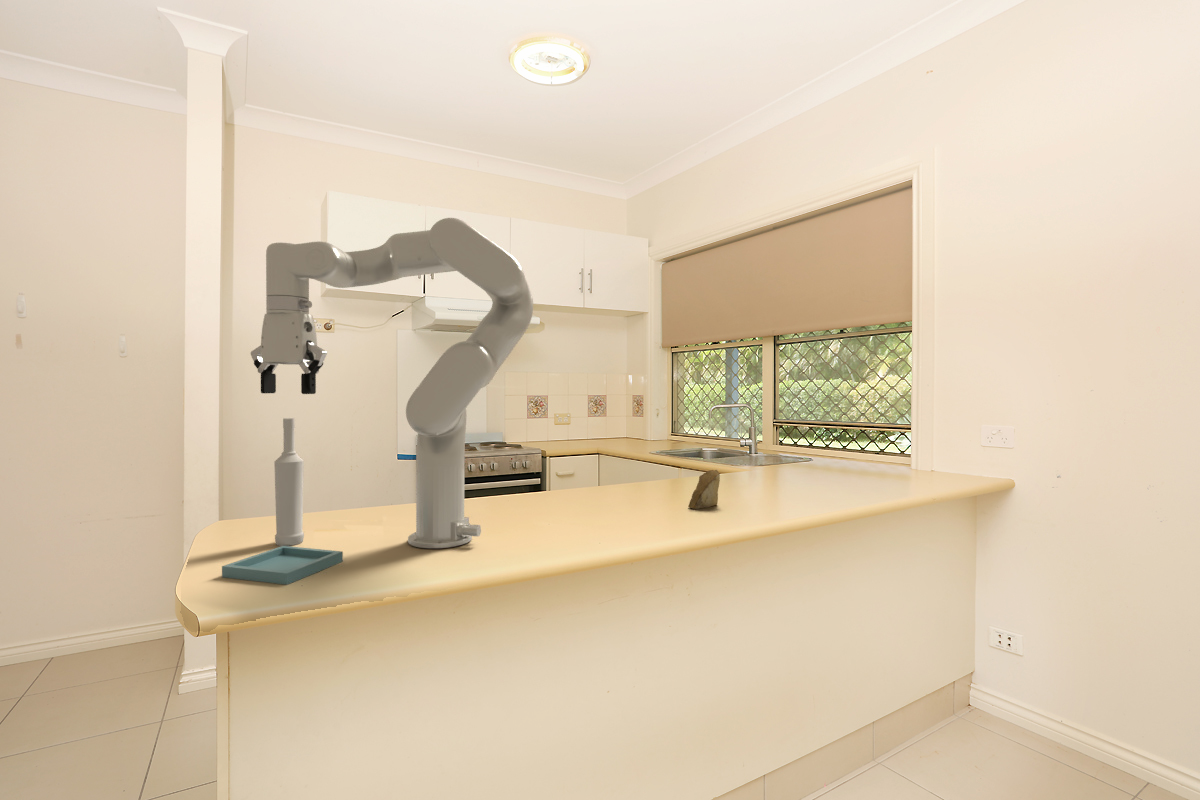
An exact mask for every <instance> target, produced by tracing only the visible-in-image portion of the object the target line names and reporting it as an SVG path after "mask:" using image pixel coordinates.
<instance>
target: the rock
mask: <svg viewBox="0 0 1200 800" xmlns="http://www.w3.org/2000/svg"><path fill="white" fill-rule="evenodd" d="M720 474H721V473H720V472H719V471H718V469H710V470H708V471H706V472H704V473H703V474H701V475H700V476H699V478H698V482H697V485H696V487H695V489H694V491H693V493H692V495H691V498H690V500H689V503H688V508H690V509H692V510H699V509H703V508H704V509H705V508H709V507H713V506H717V505H718V504H719V503H718V501H719V487H720V480H721V479H720V477H721V476H720Z"/></svg>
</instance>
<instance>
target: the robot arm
mask: <svg viewBox="0 0 1200 800" xmlns="http://www.w3.org/2000/svg"><path fill="white" fill-rule="evenodd" d="M265 253H266V254H265V265H266V267H265V274H266V277H265V278H266V279H265V281H266V282H265V288H266V291H265V292H266V294H265V296H266V298H265V299H266V300H265V301H266V302H265V304H266V305H265V306H266V309H265V310H266V311H265V313H264V316H263V321H262V325H261V326H262V327H261V337H260V345H259V346H257V347H256V348H255V349H252V350H251V351H250V356H251V358H252V361H253V364H254V366H255V368H256V369H257V374H258V373H259V374H260V393H261V394H275V393H276V392H277V380H276V379H277V378H276V377H277V374H276V373H274V371H275V369H277V367H278V366H279V365H299V367H300V368H301V370H302V371H303V373H301V375H300V376H301V377H300V380H301V381H300V382H301V383H300V384H301V385H300V386H301V387H300V390H301V391H300V392H301V394H302V395H315V394H316V392H317V389H316V388H317V385H316V384H317V383H316V382H317V381H316V380H317V375H318V374H319V373H320V369H321V368H322V367H323V365H324V362H325V360H326V357H327V354H328V353H327V351H326V350H325V349H323V348H322V347H320V346H318V341H317V340H318V339H317V338H318V337H317V330H316V325H315V321H314V316H313V315H312V314H310V308H313V307H312V306H313V303H312V301H311V300H310V299H309V298H310V279H311V280H315V281H317V282H320V283H324V284H326V285H329V286H330V287H334V288H339V289H341V288H342V289H344V288H345V289H346V288H347V289H348V288H359V287H365V286H375V285H378V284H379V285H380V284H384V283H388V282H391V281H396V280H399V279H402V278H407V277H414V276H421V275H432V274H433V275H434V274H440V273H441V274H442V273H450V272H458V273H459V274H461V275H462V276H464V277H465V278H467V279H468V280H469V281H471V282H472V283H474V285H476V286H477V287H479V288H480V289H481V290H483V291H484V292H485V293H486V294H487V295H488V297H489V298H490V299H491V301H492V305H491V308H490V309H489V311H488V313H487V314H486V315H485V316H484V317H483V318H482V319H481V321H480V322H479V323H478V325H477V327H476V328H475V329H474V330H473V331H472V333H471V334H470V336H468V338H467V339H466V340H464V341H459V342H457V343H456V342H455V343H454V344H453V345H451V346H450V347H448V348H447V349H446V350H445V351H444V352H443V353H442V355H440V357H439V358H438V359H437V361H436V362H435V364H434V365H433V366H432V367H431V369H430V370H429V371H428V373H427V374H426V375H425V377H424V378H423V379H422V380H421V382H420V383H419V384H418V386H417V387H416V389H414V391H413V392H412V394H411V395H410V397H409V399H408V401H407V403H406V406H405V418H406V420H407V423H408V425H409V426H410V428H411V429H412V430H413V431H414V432H416V433H417V436H416V437H417V438H416V449H415V450H416V451H415V453H416V457H415V459H416V460H415V462H416V463H415V465H416V466H415V467H416V468H415V469H416V472H415V477H416V478H415V481H416V482H415V488H416V490H415V491H416V493H415V495H416V496H415V498H416V499H415V500H416V502H415V504H416V505H415V506H416V507H415V508H416V510H415V511H416V512H415V513H416V514H415V516H416V518H415V519H416V520H415V523H416V524H415V527H416V530H415V532H413V533H411V534H409V536H408V537H407V543H408V545H410V546H412V547H415V548H420V549H446V548H453V547H458V546H462V545H465V544H467V543H470V542H471V541H472V539H473V537H480V536H481V533H482V529H481V525H480V524H471V523H470V517H469V516H468V517H467V516H465V465H466V464H465V455H466V454H465V451H466V449H465V444H466V429H467V408H468V406H469V405H470V404H471V402H472V401H473V400H474V399H475V397H476V396H477V394H478V393H479V392H480V390H481V389H483V388H485V387H487V386H488V385H489V384H490V383H491V381H492V380H493V378H494V377H495V375H496V374H497V372H498V371H499V370H500V368H501V367H502V365H503V364H504V363H505V361H506V360H507V358H509V356H510V355H511V353H512V352H513V350H514V348H515V347H516V346H517V344H518V343H519V342H520V340H521V339H522V337H523V335H524V334H525V333H526V331H527V329H528V328H529V326H530V323H531V321H532V318H533V314H534V298H533V294H532V291H531V288H530V286H529V284H528V280H527V278H526V275H525V272H524V271H523V267H522V266H521V264H520V262H519V261H518V260H517V258H515V256H513V255H512V254H511V253H509V252H507V251H506V250H505V249H503V248H502V247H500V246H499V245H498V244H496V243H495V242H494V241H492V240H490V239H489V238H488V237H486V236H485V235H484V234H483V233H481V232H479V231H478V230H477V229H475V228H474V227H472V226H471V225H470V224H468V223H467V222H465V221H464V220H462V219H460V218H455V217H446V218H445V217H444V218H442V219H439V220H438V221H436V222H435V223H434V224H433V225H432V226H431V228H430V229H428V230H419V231H409V232H399V233H394V234H392V235H391V236H390V237H388V239H387V240H386V241H385V243H383V244H382V245H379V246H376V247H375V248H370V249H364V250H363V249H362V250H355V251H353V250H352V251H343V250H342V249H340V248H338V247H337V246H335V245H333V244H332V243H329V242H326V241H318V240H317V241H310V242H304V243H291V242H273V243H271V244H269V245H268V246H267V247H266V252H265Z"/></svg>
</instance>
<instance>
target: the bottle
mask: <svg viewBox="0 0 1200 800" xmlns="http://www.w3.org/2000/svg"><path fill="white" fill-rule="evenodd" d="M295 421H296V419H295V417H285V418H284V417H283V419H282V428H283V450H282V452H281V455H280V456H279V457H278V458H277V459H275V460H274V462H273V463H274V489H275V490H274V491H275V492H274V494H275V499H274V500H275V524H276V526H275V529H276V534H275V535H274V542H275V544H276V546H278V547H281V546H291V547H292V546H295V545H296V546H297V545H299V544H302V543H303V542H304V538H305V532H304V531H303V516H304V515H303V514H304V513H303V511H304V510H303V509H304V466H305V465H304V462H305V460H304V459H303V458H301V457H300V456H299V455H298V453H297V451H295V450H296V448H295V447H296V443H295V442H296V441H295V428H296V427H295V426H296V425H295V424H296V423H295Z"/></svg>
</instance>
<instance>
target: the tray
mask: <svg viewBox="0 0 1200 800" xmlns="http://www.w3.org/2000/svg"><path fill="white" fill-rule="evenodd" d="M343 554H344V552H343V551H341V550H331V549H321V548H320V549H319V548H310V547H299V546H292V545H291V546H278V547H276V548H273V549H269V550H266V551H264V552H261V553H257V554H255V555H252V556H248V557H246V558H243V559H240V560H236V561H233V562H231V563H227V564H224V565H221V577H222V578H227V579H234V580H246V581H253V582H260V583H261V582H262V583H270V584H278V585H284V586H285V585H286V586H287V585H290V584H293V583H295V582H297V581H300V580H301V579H304V578H306V577H309V576H311V575H314V574H316V573H319V572H320V571H323V570H325V569H327V568H330V567H333V566H336V565H338V564H339V563H342V562H343V561H344V559H343V557H344V555H343Z"/></svg>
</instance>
